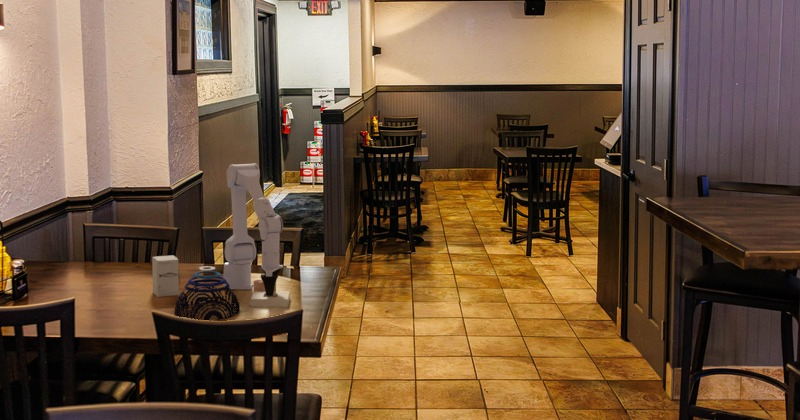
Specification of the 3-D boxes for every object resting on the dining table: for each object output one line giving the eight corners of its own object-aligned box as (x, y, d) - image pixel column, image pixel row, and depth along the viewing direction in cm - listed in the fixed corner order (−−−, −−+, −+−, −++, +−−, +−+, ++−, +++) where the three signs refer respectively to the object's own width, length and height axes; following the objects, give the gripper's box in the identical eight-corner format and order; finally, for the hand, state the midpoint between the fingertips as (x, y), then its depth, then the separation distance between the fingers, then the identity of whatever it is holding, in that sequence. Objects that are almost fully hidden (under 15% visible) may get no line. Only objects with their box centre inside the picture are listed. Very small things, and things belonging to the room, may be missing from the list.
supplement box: (157, 297, 289) (156, 260, 286) (152, 292, 295) (151, 256, 293) (179, 295, 292) (178, 259, 290) (174, 290, 298) (173, 254, 296)
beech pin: (266, 303, 285) (266, 280, 284) (266, 301, 288) (266, 277, 287) (276, 303, 285) (276, 280, 284) (276, 301, 289) (276, 277, 287)
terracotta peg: (252, 297, 292) (252, 283, 292) (254, 293, 297) (254, 279, 296) (267, 297, 293) (267, 283, 292) (268, 293, 297) (268, 279, 297)
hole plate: (250, 306, 281) (250, 299, 281) (253, 298, 291) (253, 291, 291) (287, 306, 282) (287, 299, 282) (289, 298, 292) (289, 291, 292)
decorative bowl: (180, 324, 261) (179, 277, 259) (170, 306, 280) (169, 263, 277) (245, 318, 269) (245, 273, 267) (231, 301, 287) (231, 259, 285)
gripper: (281, 257, 277) (281, 298, 279) (284, 247, 291) (284, 287, 294) (259, 257, 277) (259, 298, 279) (263, 247, 291) (263, 286, 293)
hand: (270, 292), depth 286 cm, fingers open, 7 cm apart
